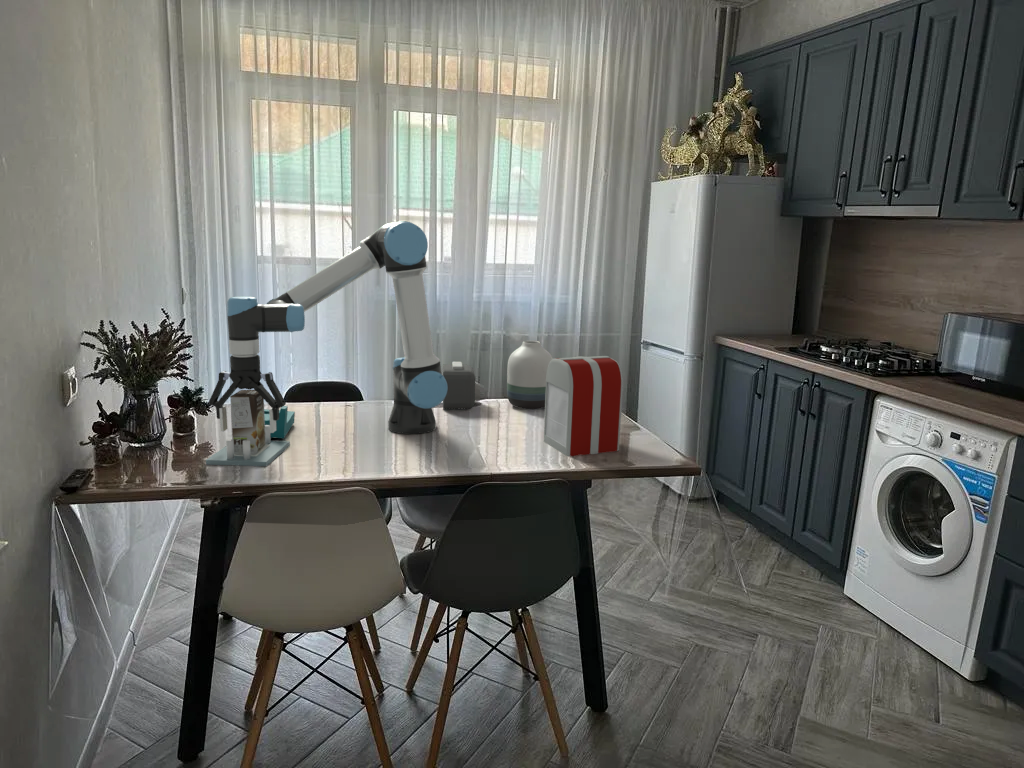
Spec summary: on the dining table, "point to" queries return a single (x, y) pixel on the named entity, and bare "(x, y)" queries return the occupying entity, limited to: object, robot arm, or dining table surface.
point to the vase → (528, 375)
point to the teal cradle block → (281, 422)
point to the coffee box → (248, 420)
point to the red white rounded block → (583, 405)
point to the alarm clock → (459, 386)
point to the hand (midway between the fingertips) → (248, 431)
